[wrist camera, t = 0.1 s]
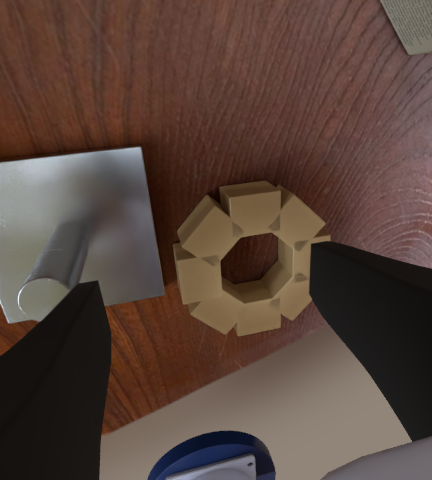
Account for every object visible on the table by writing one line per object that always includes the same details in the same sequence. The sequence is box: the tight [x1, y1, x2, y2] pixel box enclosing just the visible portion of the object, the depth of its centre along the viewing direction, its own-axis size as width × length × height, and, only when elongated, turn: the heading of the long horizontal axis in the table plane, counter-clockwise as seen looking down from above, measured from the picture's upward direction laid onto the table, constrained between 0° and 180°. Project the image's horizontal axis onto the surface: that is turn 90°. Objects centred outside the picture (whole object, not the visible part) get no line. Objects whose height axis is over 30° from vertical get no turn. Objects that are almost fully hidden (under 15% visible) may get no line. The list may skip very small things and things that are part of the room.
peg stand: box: [0, 144, 165, 324], centre depth 16 cm, size 9×9×7 cm
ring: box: [173, 181, 331, 336], centre depth 21 cm, size 9×9×2 cm
